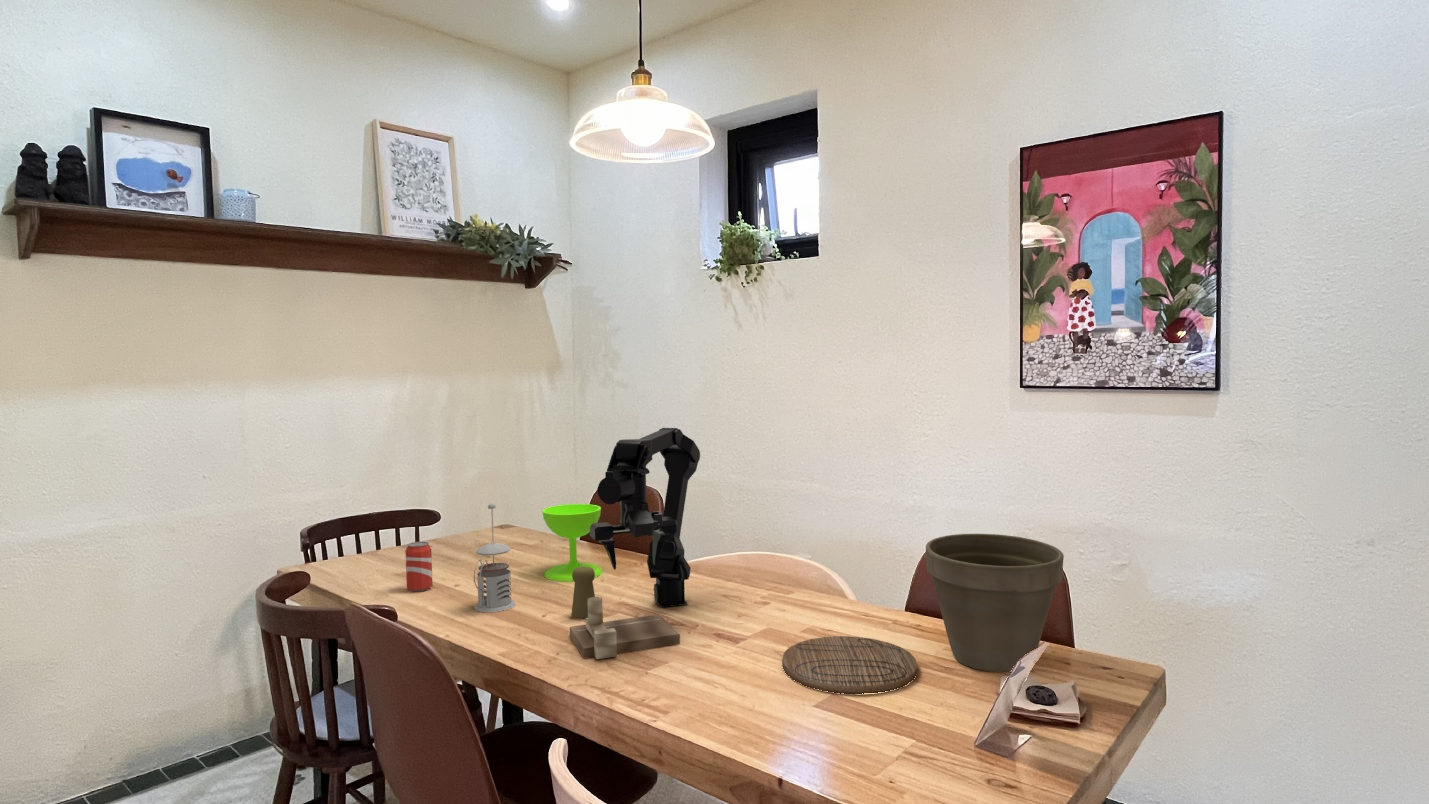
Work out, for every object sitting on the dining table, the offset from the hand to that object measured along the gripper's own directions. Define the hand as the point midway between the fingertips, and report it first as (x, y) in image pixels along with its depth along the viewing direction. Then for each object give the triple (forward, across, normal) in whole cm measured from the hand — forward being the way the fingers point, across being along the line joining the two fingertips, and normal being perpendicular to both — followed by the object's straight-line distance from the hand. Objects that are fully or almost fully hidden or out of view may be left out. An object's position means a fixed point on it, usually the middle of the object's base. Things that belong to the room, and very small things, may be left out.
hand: (634, 566), depth 174 cm
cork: (+13, -9, +12) cm, 20 cm away
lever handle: (+13, -11, -11) cm, 20 cm away
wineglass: (+13, -4, +49) cm, 51 cm away
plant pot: (+13, +57, -48) cm, 76 cm away
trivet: (+14, +30, -40) cm, 52 cm away
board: (+13, -5, -8) cm, 16 cm away
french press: (+13, -28, +27) cm, 41 cm away
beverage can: (+13, -44, +51) cm, 69 cm away
